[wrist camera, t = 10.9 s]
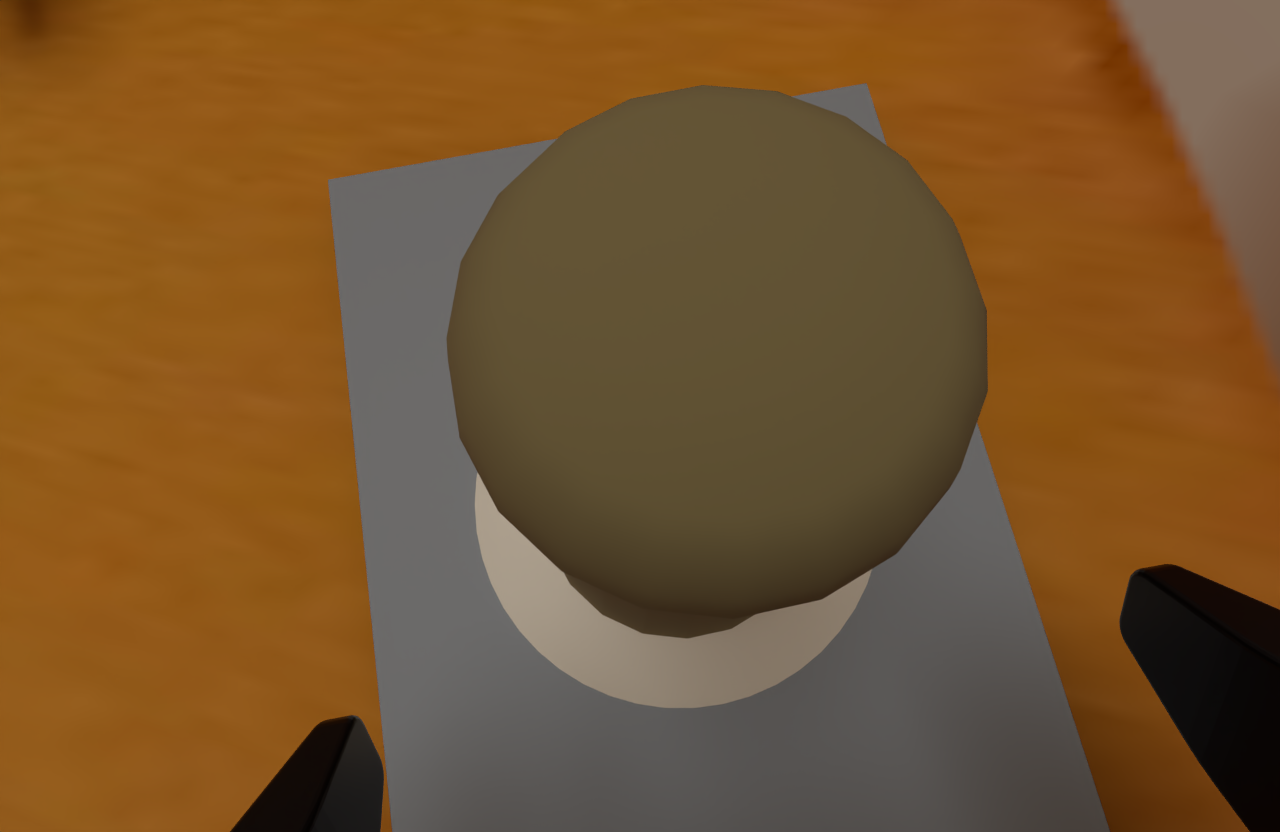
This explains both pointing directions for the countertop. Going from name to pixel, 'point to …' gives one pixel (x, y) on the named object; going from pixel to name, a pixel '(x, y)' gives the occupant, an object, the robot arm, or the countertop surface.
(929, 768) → the board
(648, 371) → the olive rounded peg
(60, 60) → the countertop surface
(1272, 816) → the robot arm
